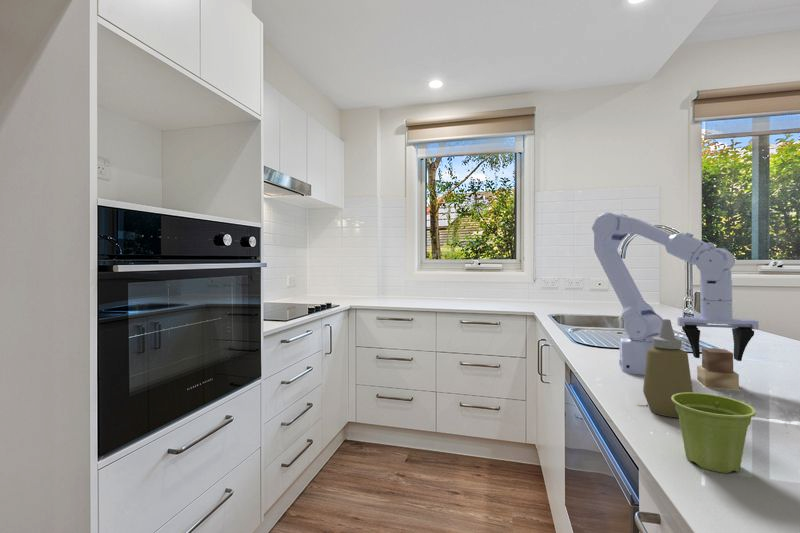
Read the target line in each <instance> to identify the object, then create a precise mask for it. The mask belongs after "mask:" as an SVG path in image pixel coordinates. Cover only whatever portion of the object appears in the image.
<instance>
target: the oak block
mask: <svg viewBox="0 0 800 533" xmlns="http://www.w3.org/2000/svg"><path fill="white" fill-rule="evenodd" d="M739 376H740V374H738V373H737V372H736V371H734V370H733V373H721V372H709V371H707V370H706V369H704V368H703V367H702V365H696V379H697V380H698V381H699V382H700V383H701V384H703V385H704V386H705V387H710V388H709V389H714V388H720V389H719V390H725V389H731V390H730V391H736V390H739V389H740V377H739ZM699 382H698V383H699ZM700 383H699V384H700ZM701 384H700V385H701Z"/></svg>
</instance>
